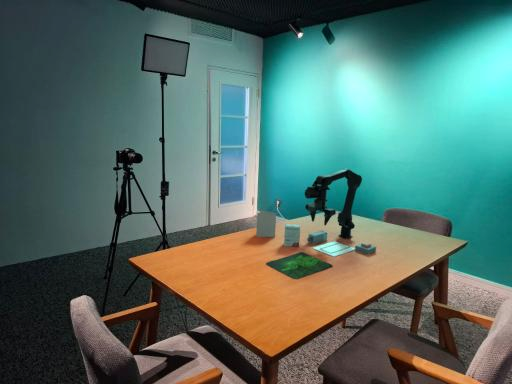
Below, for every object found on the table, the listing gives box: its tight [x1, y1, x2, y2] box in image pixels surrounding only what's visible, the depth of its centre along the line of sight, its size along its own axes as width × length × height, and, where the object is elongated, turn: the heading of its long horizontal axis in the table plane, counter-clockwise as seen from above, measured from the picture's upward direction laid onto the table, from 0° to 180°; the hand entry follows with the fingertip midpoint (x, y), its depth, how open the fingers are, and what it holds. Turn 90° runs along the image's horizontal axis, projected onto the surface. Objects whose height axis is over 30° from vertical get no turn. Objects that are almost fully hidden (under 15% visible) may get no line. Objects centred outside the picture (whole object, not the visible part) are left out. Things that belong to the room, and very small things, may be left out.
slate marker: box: [306, 230, 328, 245], centre depth 203 cm, size 14×4×5 cm, turn 130°
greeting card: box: [255, 210, 277, 238], centre depth 207 cm, size 11×7×15 cm, turn 58°
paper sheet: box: [312, 240, 355, 258], centre depth 192 cm, size 20×15×1 cm
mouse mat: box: [265, 251, 333, 280], centre depth 169 cm, size 27×22×1 cm
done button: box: [360, 241, 372, 248], centre depth 190 cm, size 4×4×3 cm
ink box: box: [283, 223, 301, 248], centre depth 195 cm, size 9×5×12 cm, turn 84°
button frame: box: [354, 243, 377, 256], centre depth 191 cm, size 8×8×3 cm
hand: (318, 223), depth 202 cm, fingers open, 9 cm apart
